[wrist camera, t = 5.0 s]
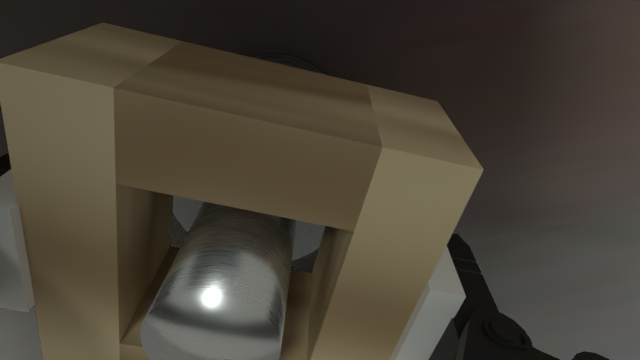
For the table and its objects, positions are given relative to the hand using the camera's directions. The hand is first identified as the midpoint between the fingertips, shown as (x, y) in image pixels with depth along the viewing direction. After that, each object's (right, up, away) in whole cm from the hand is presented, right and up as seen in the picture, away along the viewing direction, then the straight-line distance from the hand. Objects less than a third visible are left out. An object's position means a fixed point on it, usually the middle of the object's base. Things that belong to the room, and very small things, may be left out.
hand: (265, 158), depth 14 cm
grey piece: (0, +2, +4) cm, 4 cm away
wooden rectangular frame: (0, -1, -2) cm, 3 cm away
